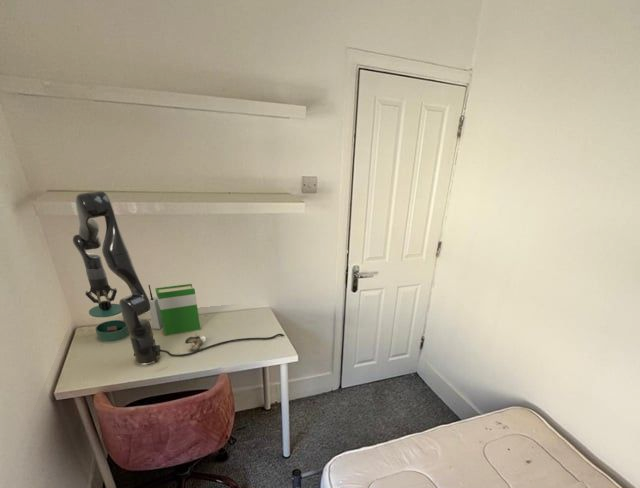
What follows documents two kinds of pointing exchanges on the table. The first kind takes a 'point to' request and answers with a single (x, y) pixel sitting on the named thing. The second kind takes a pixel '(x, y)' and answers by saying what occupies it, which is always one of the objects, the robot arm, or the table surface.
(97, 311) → the lid
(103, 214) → the robot arm
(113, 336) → the tin
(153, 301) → the vintage mobile phone
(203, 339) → the eagle figurine
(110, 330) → the block
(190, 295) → the hardback book
